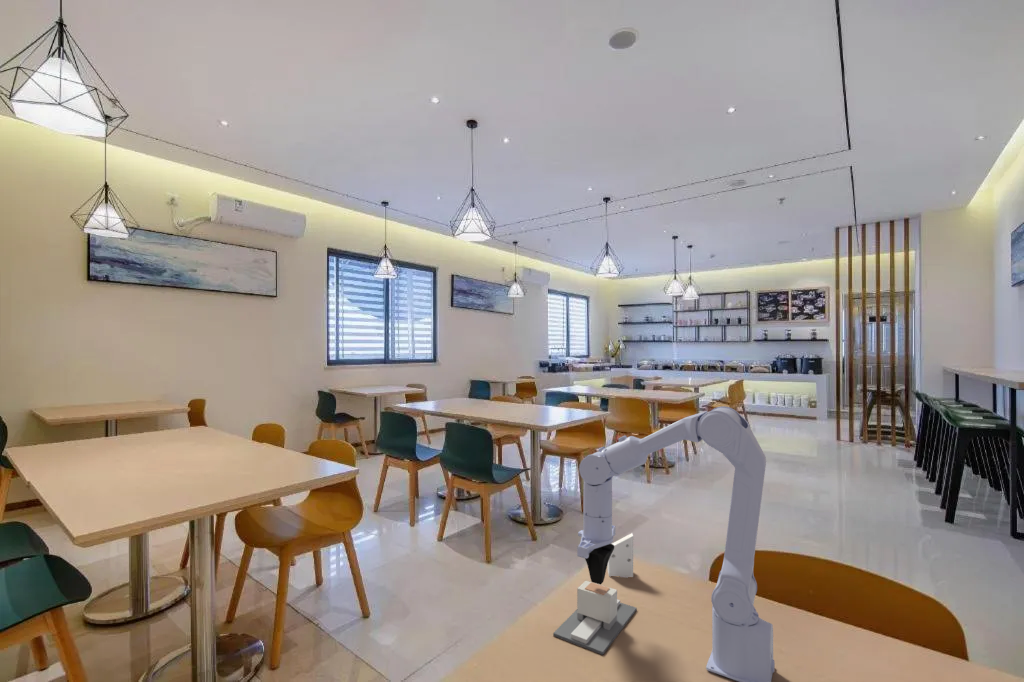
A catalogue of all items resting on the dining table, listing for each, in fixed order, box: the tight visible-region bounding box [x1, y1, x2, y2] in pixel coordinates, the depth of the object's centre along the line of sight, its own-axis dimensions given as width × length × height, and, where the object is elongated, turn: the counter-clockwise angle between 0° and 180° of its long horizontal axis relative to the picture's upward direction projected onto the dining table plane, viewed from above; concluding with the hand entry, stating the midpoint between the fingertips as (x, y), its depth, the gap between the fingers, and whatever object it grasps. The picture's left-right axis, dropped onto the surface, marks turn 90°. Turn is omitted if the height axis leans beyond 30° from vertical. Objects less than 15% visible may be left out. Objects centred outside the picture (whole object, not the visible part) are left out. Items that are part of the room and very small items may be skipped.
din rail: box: [552, 598, 638, 656], centre depth 93 cm, size 10×18×1 cm, turn 146°
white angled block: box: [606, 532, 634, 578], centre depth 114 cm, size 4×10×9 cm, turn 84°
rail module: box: [576, 580, 618, 630], centre depth 93 cm, size 7×4×6 cm, turn 56°
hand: (597, 582), depth 93 cm, fingers closed
